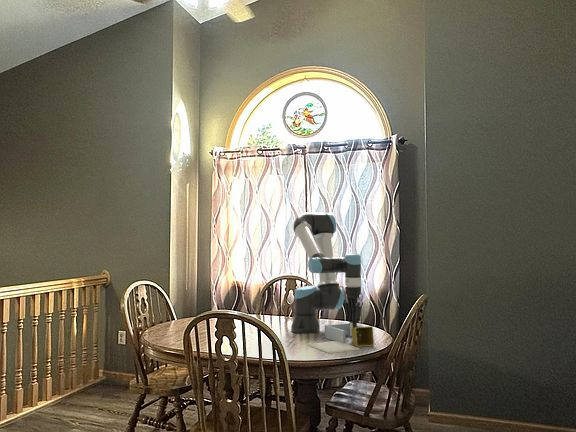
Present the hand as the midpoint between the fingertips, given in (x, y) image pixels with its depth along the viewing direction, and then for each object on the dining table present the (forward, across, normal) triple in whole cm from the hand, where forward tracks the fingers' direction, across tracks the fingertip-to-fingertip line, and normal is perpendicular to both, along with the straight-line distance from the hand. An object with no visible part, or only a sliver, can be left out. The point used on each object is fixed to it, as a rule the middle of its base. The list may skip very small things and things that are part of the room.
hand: (353, 335), depth 252 cm
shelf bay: (+3, -5, 0) cm, 6 cm away
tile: (+3, +7, -16) cm, 17 cm away
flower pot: (-1, +3, 0) cm, 3 cm away
